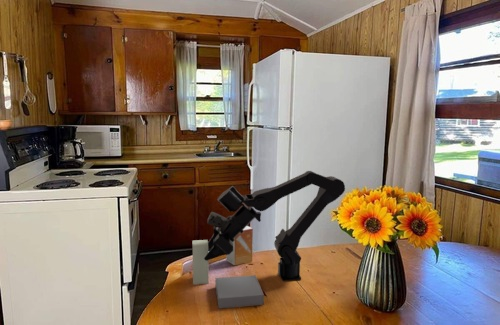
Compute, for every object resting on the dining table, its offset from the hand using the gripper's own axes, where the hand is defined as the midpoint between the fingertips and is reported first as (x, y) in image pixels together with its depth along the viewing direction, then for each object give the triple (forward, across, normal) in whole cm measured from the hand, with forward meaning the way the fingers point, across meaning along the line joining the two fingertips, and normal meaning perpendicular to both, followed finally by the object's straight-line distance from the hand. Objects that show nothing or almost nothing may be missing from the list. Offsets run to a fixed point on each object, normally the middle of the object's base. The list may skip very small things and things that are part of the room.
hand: (205, 254), depth 115 cm
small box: (-2, -15, +15) cm, 21 cm away
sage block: (+8, 0, +5) cm, 9 cm away
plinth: (-1, +11, +14) cm, 18 cm away
